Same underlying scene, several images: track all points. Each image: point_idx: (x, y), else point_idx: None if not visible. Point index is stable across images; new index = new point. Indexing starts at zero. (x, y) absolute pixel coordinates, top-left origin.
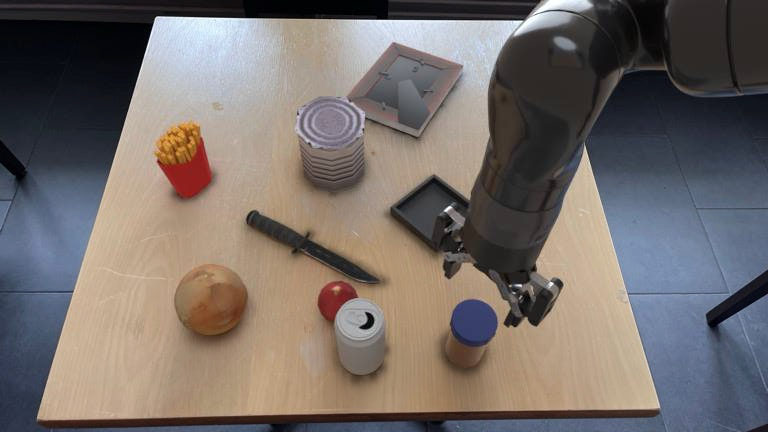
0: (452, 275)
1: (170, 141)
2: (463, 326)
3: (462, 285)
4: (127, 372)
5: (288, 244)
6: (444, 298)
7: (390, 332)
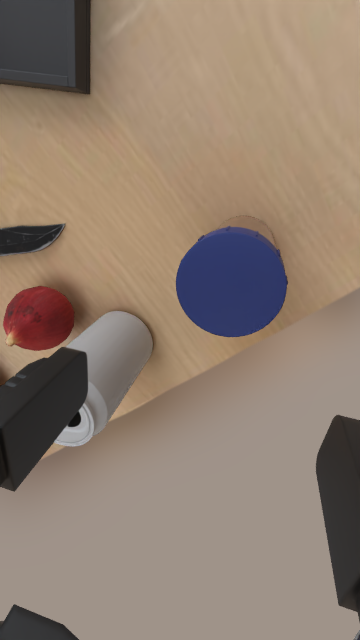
0: (81, 391)
1: None
2: (215, 316)
3: (172, 127)
4: None
5: None
6: (162, 180)
7: (133, 289)
